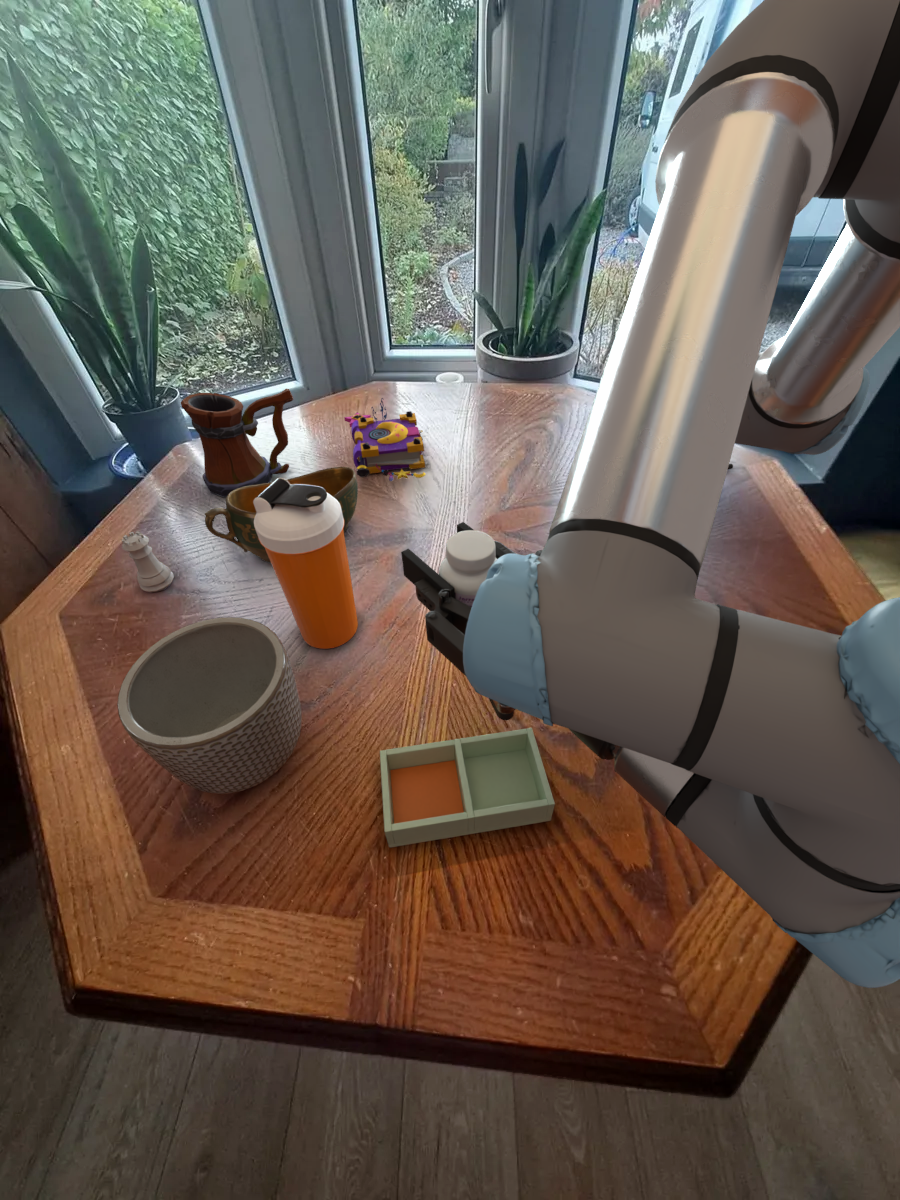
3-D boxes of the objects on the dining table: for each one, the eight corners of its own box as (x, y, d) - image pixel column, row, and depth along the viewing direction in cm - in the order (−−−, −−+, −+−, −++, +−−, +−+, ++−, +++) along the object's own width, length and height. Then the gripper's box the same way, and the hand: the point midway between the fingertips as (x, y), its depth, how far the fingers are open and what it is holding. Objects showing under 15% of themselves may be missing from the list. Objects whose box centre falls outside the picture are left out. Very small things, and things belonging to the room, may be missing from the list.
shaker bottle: (351, 660, 62) (316, 522, 48) (282, 650, 63) (227, 513, 49) (374, 607, 68) (349, 471, 54) (310, 599, 69) (269, 465, 55)
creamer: (236, 523, 82) (213, 466, 75) (363, 508, 84) (352, 451, 77) (224, 577, 73) (197, 518, 66) (367, 559, 75) (355, 499, 68)
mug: (307, 453, 98) (287, 372, 87) (314, 484, 90) (293, 399, 79) (207, 470, 94) (173, 387, 84) (205, 504, 86) (168, 417, 76)
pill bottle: (458, 656, 46) (455, 574, 39) (432, 618, 49) (425, 536, 42) (511, 634, 47) (516, 552, 41) (481, 598, 51) (482, 517, 44)
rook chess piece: (182, 577, 73) (158, 531, 68) (157, 597, 70) (130, 551, 65) (159, 569, 75) (133, 523, 69) (134, 588, 72) (105, 542, 66)
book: (350, 494, 87) (337, 425, 79) (346, 426, 105) (335, 364, 96) (436, 483, 89) (432, 414, 80) (417, 419, 106) (413, 357, 98)
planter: (325, 794, 50) (291, 719, 41) (172, 838, 47) (100, 769, 38) (310, 682, 59) (281, 601, 50) (183, 713, 57) (127, 635, 48)
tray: (529, 745, 53) (531, 727, 50) (550, 820, 47) (555, 804, 45) (383, 768, 52) (379, 750, 49) (389, 847, 46) (384, 832, 44)
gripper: (538, 834, 32) (352, 623, 46) (710, 684, 40) (507, 541, 54) (551, 777, 27) (336, 557, 41) (746, 616, 35) (511, 477, 48)
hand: (434, 548), depth 47 cm, fingers closed on pill bottle, 5 cm apart
